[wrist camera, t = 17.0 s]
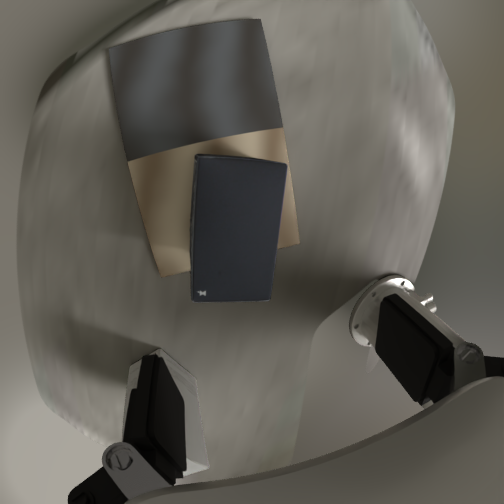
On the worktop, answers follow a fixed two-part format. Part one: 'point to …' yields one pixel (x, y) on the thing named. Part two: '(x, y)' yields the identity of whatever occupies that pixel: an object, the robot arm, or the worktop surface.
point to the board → (195, 122)
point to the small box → (234, 227)
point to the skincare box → (193, 422)
